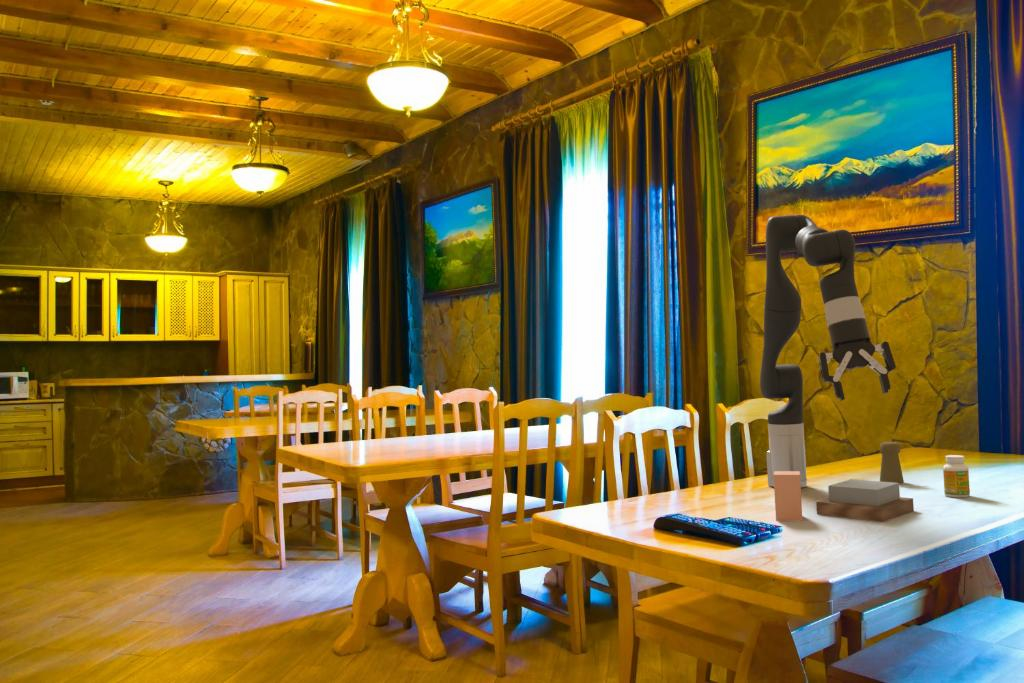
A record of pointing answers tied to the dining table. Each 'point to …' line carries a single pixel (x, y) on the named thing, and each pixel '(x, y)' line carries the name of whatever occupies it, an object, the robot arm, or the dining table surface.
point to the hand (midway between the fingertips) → (863, 396)
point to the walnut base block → (866, 509)
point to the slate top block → (864, 492)
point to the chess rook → (890, 463)
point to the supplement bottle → (956, 477)
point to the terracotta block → (788, 495)
